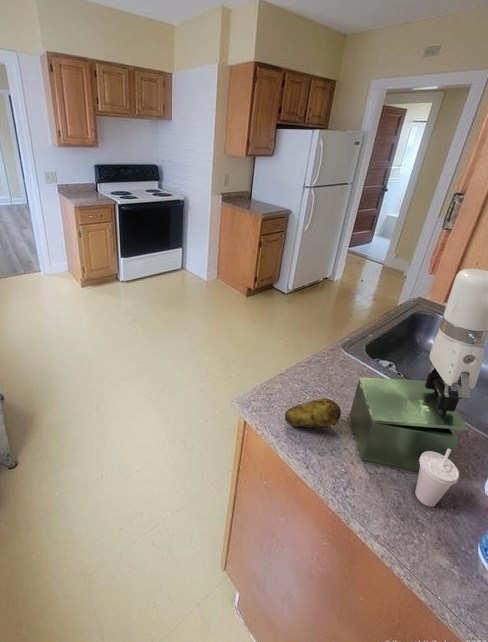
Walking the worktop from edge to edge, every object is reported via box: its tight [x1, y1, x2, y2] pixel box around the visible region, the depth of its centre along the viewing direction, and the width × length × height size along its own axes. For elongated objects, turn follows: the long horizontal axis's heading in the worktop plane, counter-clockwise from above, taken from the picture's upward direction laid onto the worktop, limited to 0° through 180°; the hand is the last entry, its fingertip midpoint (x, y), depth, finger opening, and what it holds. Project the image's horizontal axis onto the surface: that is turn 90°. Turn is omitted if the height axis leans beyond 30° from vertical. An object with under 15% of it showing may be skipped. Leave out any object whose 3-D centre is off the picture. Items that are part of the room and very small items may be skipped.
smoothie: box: [414, 449, 460, 508], centre depth 64 cm, size 6×6×14 cm
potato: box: [284, 397, 342, 428], centre depth 82 cm, size 8×13×8 cm, turn 67°
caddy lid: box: [358, 377, 468, 431], centre depth 73 cm, size 18×14×5 cm
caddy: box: [349, 380, 459, 473], centre depth 76 cm, size 17×14×12 cm
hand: (438, 398), depth 71 cm, fingers closed on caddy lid, 5 cm apart
